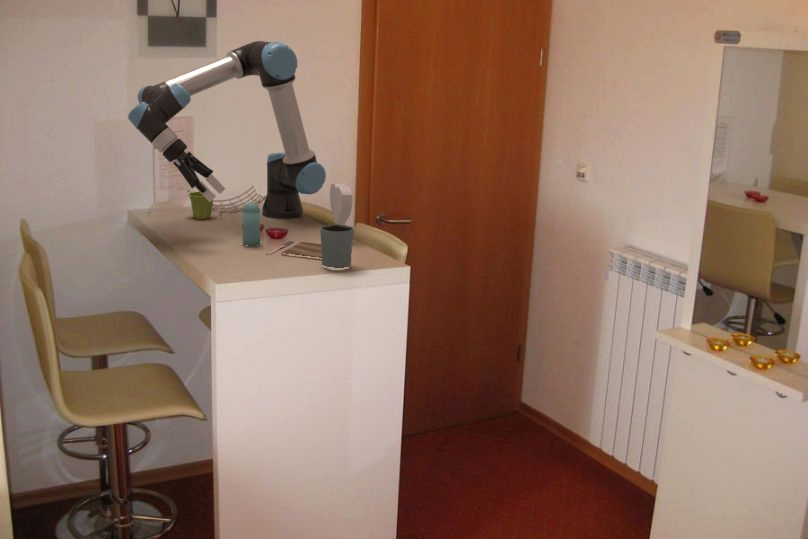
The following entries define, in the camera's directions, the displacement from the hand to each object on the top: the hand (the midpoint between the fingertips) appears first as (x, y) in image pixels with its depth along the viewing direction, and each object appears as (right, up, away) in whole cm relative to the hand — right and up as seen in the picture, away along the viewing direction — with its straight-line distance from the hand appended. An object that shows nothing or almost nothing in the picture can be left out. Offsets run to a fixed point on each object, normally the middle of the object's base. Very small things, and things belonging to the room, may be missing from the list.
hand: (218, 195), depth 295 cm
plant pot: (-14, -5, +39) cm, 41 cm away
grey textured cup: (+39, -23, -17) cm, 48 cm away
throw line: (+19, -17, +1) cm, 26 cm away
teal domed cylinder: (+10, -16, +4) cm, 19 cm away
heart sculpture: (+37, -13, +19) cm, 44 cm away
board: (+30, -18, -2) cm, 35 cm away
